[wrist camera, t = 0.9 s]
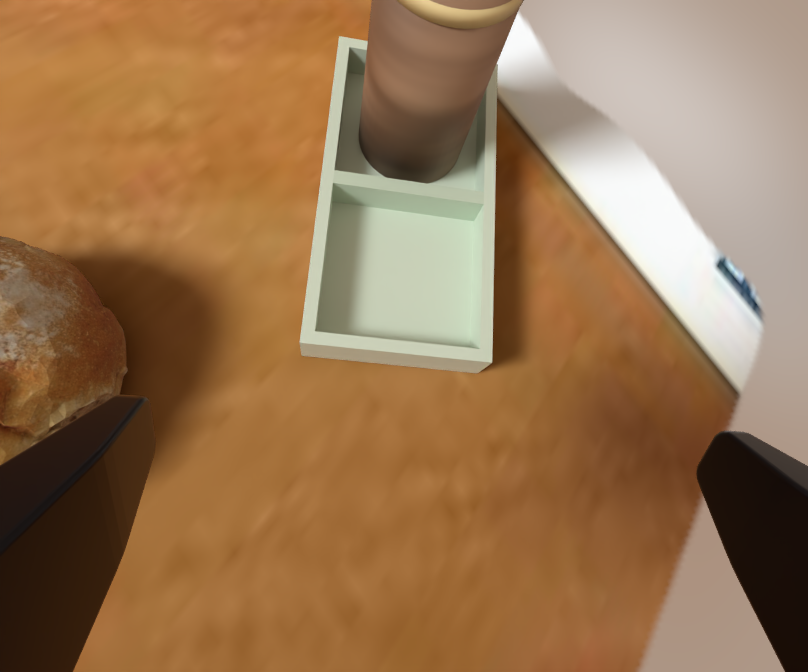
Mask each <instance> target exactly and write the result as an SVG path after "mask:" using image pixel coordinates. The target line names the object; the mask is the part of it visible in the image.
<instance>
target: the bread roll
mask: <svg viewBox="0 0 808 672" xmlns="http://www.w3.org/2000/svg"><path fill="white" fill-rule="evenodd" d="M126 361H127V358H126V340H125V337H124V331H123V329H122V327H121V326H120V324H119V323H118V321H117V319H116V317H115V316H114V314H113V312H112V311H111V310H110V309H109V308H106V307H104V306H103V305H102V303H101V301H100V298H99V296H98V294H97V293H96V292H95V290H94V288H93V287H92V285H91V284H90V283H89V282H88V280H87V279H86V278H85V277H84V276H83V274H82V273H81V272H80V271H79V270H78V269H77V268H76V267H75V266H74V265H72V264H71V263H69V262H68V261H67V260H65V259H64V258H62V257H61V256H58V255H55V254H53V253H50V252H47V251H45V250H42V249H39V248H36V247H32V246H29V245H27V244H25V243H23V242H22V241H17V240H15V239H11V238H6V237H1V236H0V465H1V464H3V463H4V462H6V461H8V460H9V459H11V458H13V457H14V456H16V455H18V454H19V453H21V452H23V451H24V450H26V449H28V448H29V447H31V446H33V445H34V444H36V443H37V442H39V441H41V440H42V439H44V438H46V437H47V436H49V435H51V434H52V433H54V432H56V431H57V430H59V429H61V428H62V427H64V426H65V425H67V424H69V423H70V422H72V421H74V420H75V419H77V418H79V417H80V416H82V415H84V414H85V413H87V412H89V411H90V410H92V409H93V408H95V407H97V406H98V405H100V404H102V403H103V402H105V401H107V400H108V399H110V398H112V397H114V396H116V395H120V391H121V386H122V381H123V377H124V375H125V374H126V373H127V371H128V369H127V367H126ZM23 435H24V436H23ZM22 439H23V440H22Z"/></svg>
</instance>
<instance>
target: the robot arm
mask: <svg viewBox="0 0 808 672" xmlns="http://www.w3.org/2000/svg"><path fill="white" fill-rule="evenodd" d="M155 444H156V440H155V432H154V425H153V417H152V410H151V404H150V402H149V399H148V398H146V397H145V396H137V395H116V396H114V397H112V398H110V399H108V400H107V401H105V402H103V403H102V404H100V405H98V406H97V407H95V408H93V409H92V410H90V411H89V412H87V413H85V414H84V415H82V416H80V417H79V418H77V419H75V420H74V421H72V422H70V423H69V424H67V425H65V426H64V427H62V428H61V429H59V430H57V431H56V432H54V433H52V434H51V435H49V436H47V437H46V438H44V439H42V440H41V441H39V442H37V443H36V444H34V445H33V446H31V447H29V448H28V449H26V450H24V451H23V452H21V453H19V454H18V455H16V456H14V457H13V458H11V459H9V460H8V461H6V462H4V463H3V464H1V465H0V672H73V670H74V668H75V666H76V663H77V661H78V659H79V657H80V654H81V652H82V650H83V647H84V645H85V643H86V640H87V638H88V636H89V633H90V631H91V629H92V627H93V624H94V622H95V620H96V617H97V615H98V613H99V610H100V608H101V606H102V604H103V601H104V599H105V597H106V594H107V592H108V590H109V587H110V585H111V583H112V581H113V578H114V576H115V574H116V571H117V569H118V566H119V564H120V561H121V559H122V556H123V554H124V551H125V548H126V545H127V542H128V539H129V536H130V532H131V529H132V526H133V523H134V519H135V516H136V513H137V509H138V506H139V503H140V500H141V496H142V493H143V490H144V486H145V483H146V480H147V476H148V473H149V470H150V467H151V463H152V460H153V457H154V452H155ZM697 480H698V483H699V486H700V488H701V491H702V493H703V496H704V498H705V501H706V503H707V506H708V508H709V511H710V513H711V516H712V518H713V521H714V523H715V526H716V528H717V531H718V533H719V536H720V538H721V541H722V543H723V546H724V549H725V551H726V553H727V556H728V558H729V560H730V563H731V565H732V567H733V569H734V571H735V574H736V576H737V578H738V580H739V582H740V584H741V586H742V588H743V590H744V592H745V594H746V596H747V598H748V600H749V602H750V604H751V606H752V608H753V610H754V611H755V613H756V615H757V617H758V619H759V621H760V623H761V625H762V627H763V629H764V631H765V633H766V635H767V637H768V639H769V641H770V643H771V645H772V647H773V649H774V651H775V653H776V655H777V657H778V659H779V661H780V663H781V665H782V667H783V669H784V670H785V672H808V466H807V465H805V464H803V463H801V462H799V461H798V460H796V459H794V458H792V457H790V456H788V455H787V454H785V453H783V452H781V451H780V450H778V449H776V448H774V447H772V446H771V445H769V444H767V443H765V442H763V441H762V440H760V439H758V438H756V437H754V436H753V435H751V434H749V433H745V432H737V431H722V432H719V433H718V434H717V435H716V436H715V437H714V438H713V440H712V442H711V443H710V445H709V447H708V449H707V450H706V452H705V454H704V456H703V457H702V459H701V461H700V462H699V464H698V467H697Z"/></svg>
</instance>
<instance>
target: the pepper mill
mask: <svg viewBox="0 0 808 672" xmlns="http://www.w3.org/2000/svg"><path fill="white" fill-rule="evenodd" d="M523 1H524V0H372V3H371V13H370V24H369V34H368V44H367V54H366V64H365V74H364V84H363V94H362V104H361V114H360V124H359V135H358V136H359V144H360V148H361V151H362V153H363V155H364V157H365V159H366V160H367V161H368V163H369V164H370V165H371V166H372V167H373V168H374V169H375V170H376V171H377V172H378V173H380V174H381V175H383V176H384V177H386V178H392V179H399V180H406V181H413V182H419V183H426V184H427V183H431V182H434V181H437V180H439V179H440V178H442V177H444V176H445V175H446V174H447V173H449V172H450V171H451V169H452V168H453V167H454V165H455V164H456V162H457V160H458V157H459V155H460V152H461V150H462V147H463V145H464V142H465V140H466V138H467V135H468V133H469V130H470V128H471V125H472V123H473V120H474V118H475V115H476V113H477V110H478V108H479V106H480V103H481V101H482V98H483V96H484V93H485V91H486V88H487V86H488V83H489V81H490V79H491V76H492V74H493V71H494V69H495V66H496V64H497V61H498V59H499V56H500V54H501V52H502V49H503V47H504V44H505V42H506V39H507V37H508V34H509V32H510V29H511V27H512V25H513V22H514V20H515V17H516V15H517V12H518V10H519V7H520V6H521V4H522V3H523Z"/></svg>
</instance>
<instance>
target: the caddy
mask: <svg viewBox="0 0 808 672" xmlns="http://www.w3.org/2000/svg"><path fill="white" fill-rule="evenodd" d="M367 44H368V41H363V40H358V39H352V38H347V37H341V36H339V42H338V50H337V58H336V66H335V73H334V81H333V89H332V97H331V104H330V112H329V120H328V128H327V135H326V143H325V151H324V159H323V166H322V174H321V182H320V189H319V197H318V205H317V213H316V220H315V228H314V236H313V244H312V251H311V259H310V267H309V275H308V282H307V290H306V298H305V306H304V313H303V321H302V329H301V337H300V348H301V355H302V356H310V357H320V358H330V359H340V360H350V361H360V362H369V363H379V364H389V365H399V366H409V367H419V368H429V369H439V370H449V371H459V372H469V373H479V372H480V371H482V370H483V369H484V368H486V367H487V366H488V365H490V364H491V363H492V349H493V293H494V237H495V181H496V125H497V69H498V64H496V66H495V69H494V71H493V74H492V76H491V79H490V81H489V83H488V86H487V88H486V91H485V93H484V96H483V98H482V101H481V103H480V106H479V108H478V110H477V113H476V115H475V118H474V120H473V123H472V125H471V128H470V130H469V133H468V135H467V138H466V140H465V142H464V145H463V147H462V150H461V152H460V155H459V157H458V160H457V162H456V164H455V165H454V167H453V168H452V169H451V171H450V172H449V173H447V174H446V175H445V176H444V177H442V178H440V179H439V180H437V181H434V182H431V183H427V184H426V183H419V182H413V181H406V180H399V179H392V178H386V177H384V176H383V175H381V174H380V173H378V172H377V171H376V170H375V169H374V168H373V167H372V166H371V165H370V164H369V163H368V161H367V160H366V159H365V157H364V155H363V153H362V151H361V148H360V144H359V136H358V135H359V124H360V114H361V104H362V94H363V84H364V74H365V64H366V54H367Z"/></svg>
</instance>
